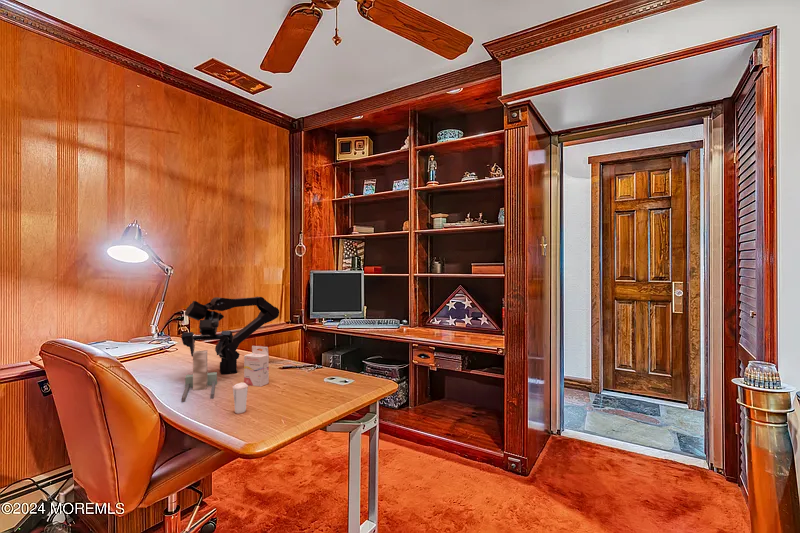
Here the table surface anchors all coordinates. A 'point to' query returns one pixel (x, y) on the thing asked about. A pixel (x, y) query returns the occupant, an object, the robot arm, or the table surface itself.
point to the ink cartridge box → (256, 367)
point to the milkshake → (240, 397)
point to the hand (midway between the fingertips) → (204, 355)
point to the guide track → (189, 383)
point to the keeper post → (200, 370)
